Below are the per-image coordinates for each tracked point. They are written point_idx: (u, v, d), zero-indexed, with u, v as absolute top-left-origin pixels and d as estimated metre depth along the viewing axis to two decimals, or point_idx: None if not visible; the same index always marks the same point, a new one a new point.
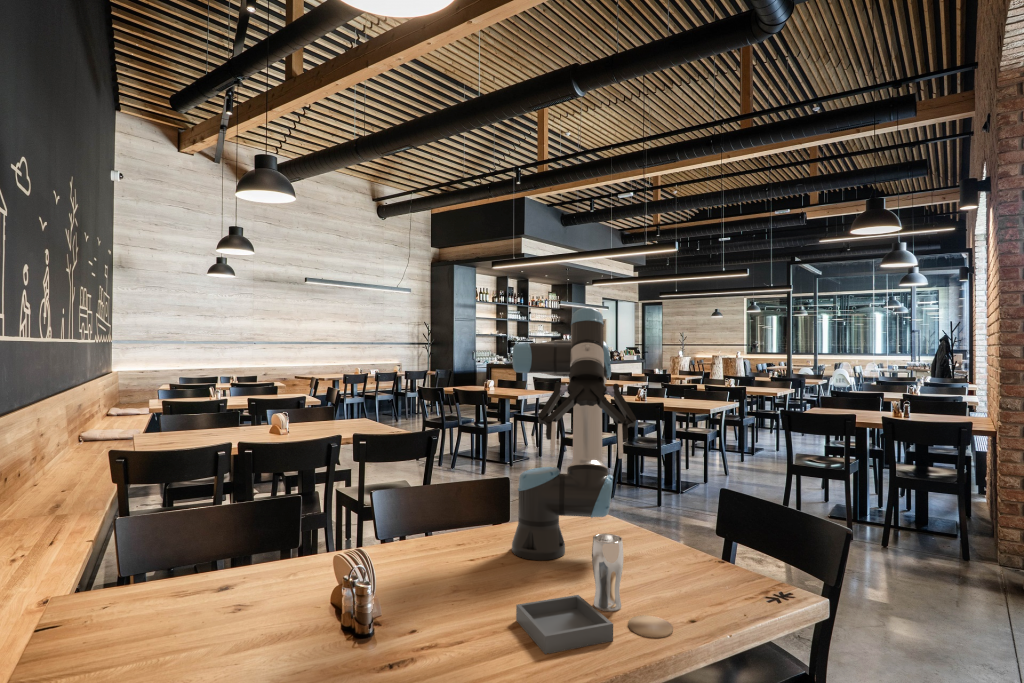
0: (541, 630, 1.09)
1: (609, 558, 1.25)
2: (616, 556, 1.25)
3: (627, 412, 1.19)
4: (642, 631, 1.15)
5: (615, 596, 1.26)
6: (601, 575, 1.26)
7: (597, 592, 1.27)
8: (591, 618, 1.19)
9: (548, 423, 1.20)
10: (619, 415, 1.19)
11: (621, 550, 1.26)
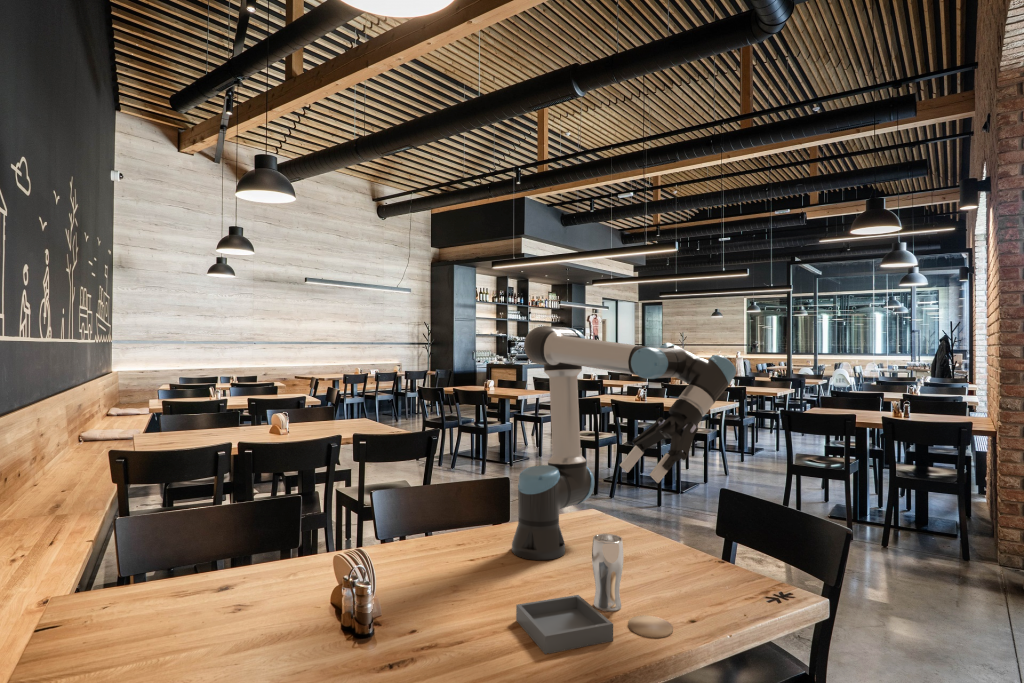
0: (541, 630, 1.09)
1: (609, 558, 1.25)
2: (616, 556, 1.25)
3: None
4: (642, 631, 1.15)
5: (615, 596, 1.26)
6: (601, 575, 1.26)
7: (597, 592, 1.27)
8: (591, 618, 1.19)
9: None
10: None
11: (621, 550, 1.26)
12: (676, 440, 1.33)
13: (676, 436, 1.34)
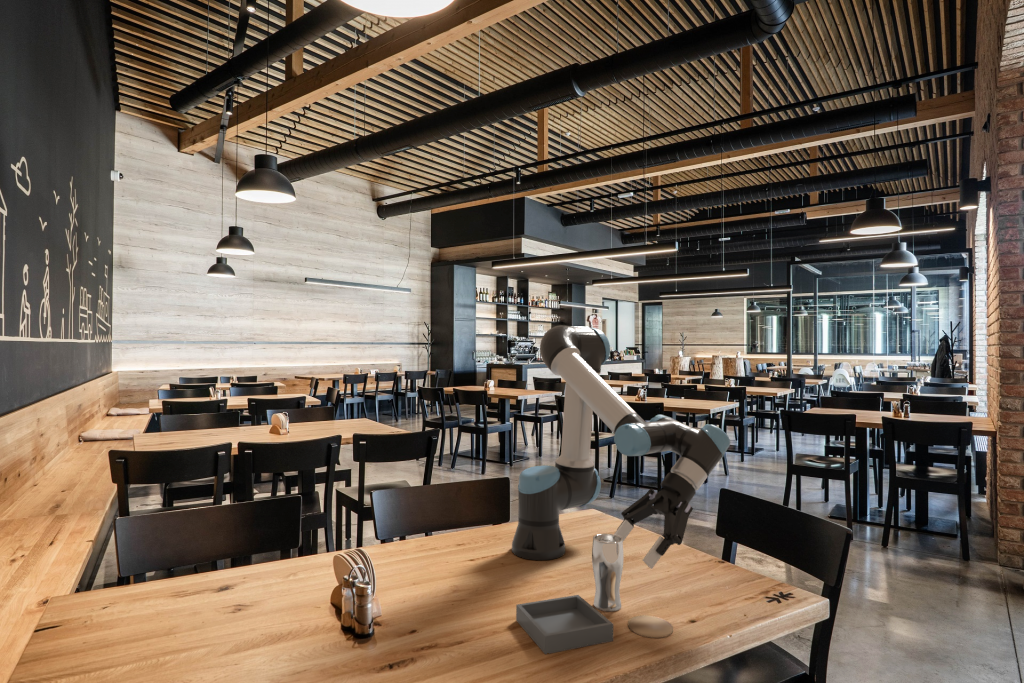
0: (541, 630, 1.09)
1: (609, 558, 1.25)
2: (616, 556, 1.25)
3: None
4: (642, 631, 1.15)
5: (615, 596, 1.26)
6: (601, 575, 1.26)
7: (597, 592, 1.27)
8: (591, 618, 1.19)
9: None
10: None
11: (621, 550, 1.26)
12: (669, 521, 1.26)
13: (669, 516, 1.27)
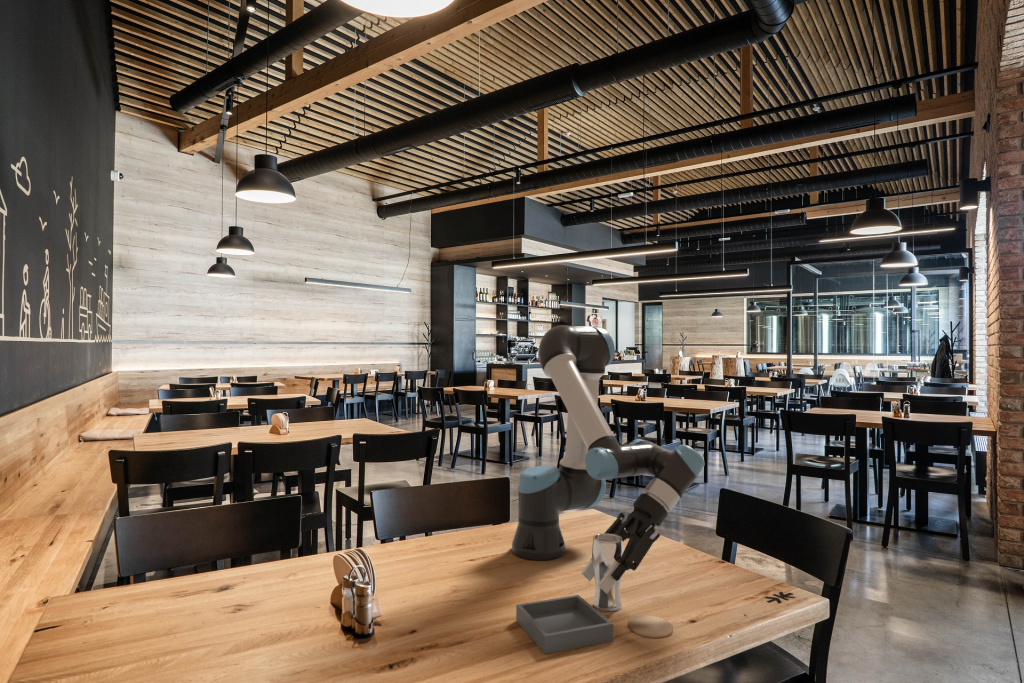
0: (541, 630, 1.09)
1: (609, 558, 1.25)
2: (616, 556, 1.25)
3: None
4: (642, 631, 1.15)
5: (615, 596, 1.26)
6: (601, 575, 1.25)
7: (597, 592, 1.27)
8: (591, 618, 1.19)
9: None
10: None
11: (621, 550, 1.26)
12: (631, 545, 1.26)
13: (633, 540, 1.27)
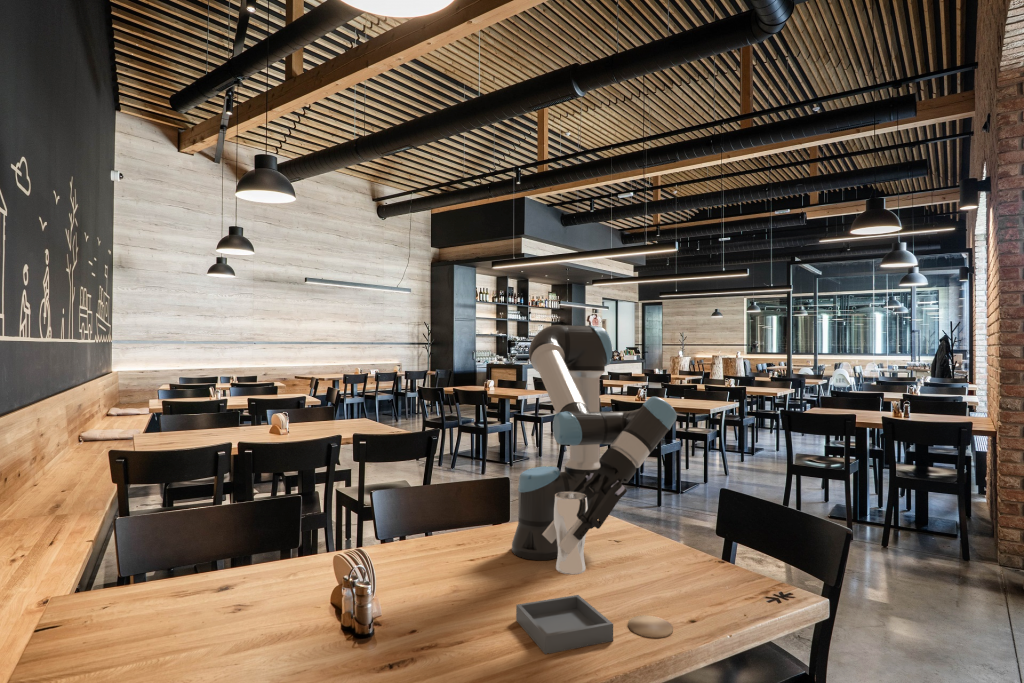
0: (541, 630, 1.09)
1: (571, 516, 1.14)
2: (579, 514, 1.14)
3: None
4: (642, 631, 1.15)
5: (578, 558, 1.15)
6: (563, 535, 1.15)
7: (559, 554, 1.16)
8: (591, 618, 1.19)
9: None
10: None
11: (585, 508, 1.15)
12: (596, 502, 1.15)
13: (598, 497, 1.16)
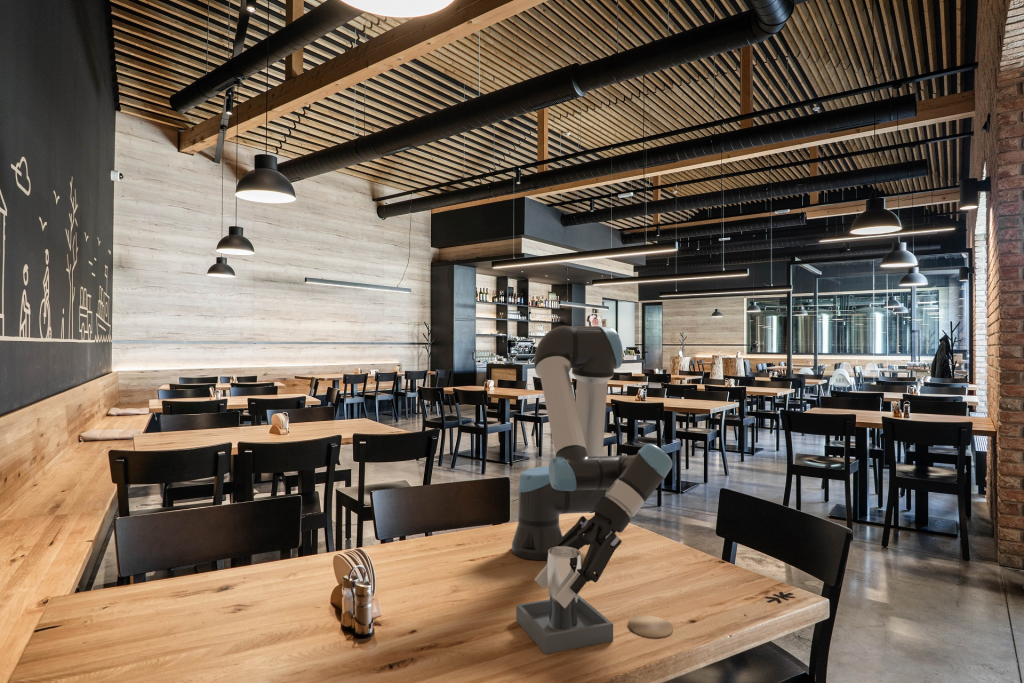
0: (541, 630, 1.09)
1: (564, 574, 1.13)
2: (572, 572, 1.13)
3: None
4: (642, 631, 1.15)
5: (571, 616, 1.14)
6: (556, 593, 1.14)
7: (551, 611, 1.15)
8: (591, 618, 1.19)
9: None
10: None
11: (578, 566, 1.14)
12: (591, 554, 1.14)
13: (593, 548, 1.15)
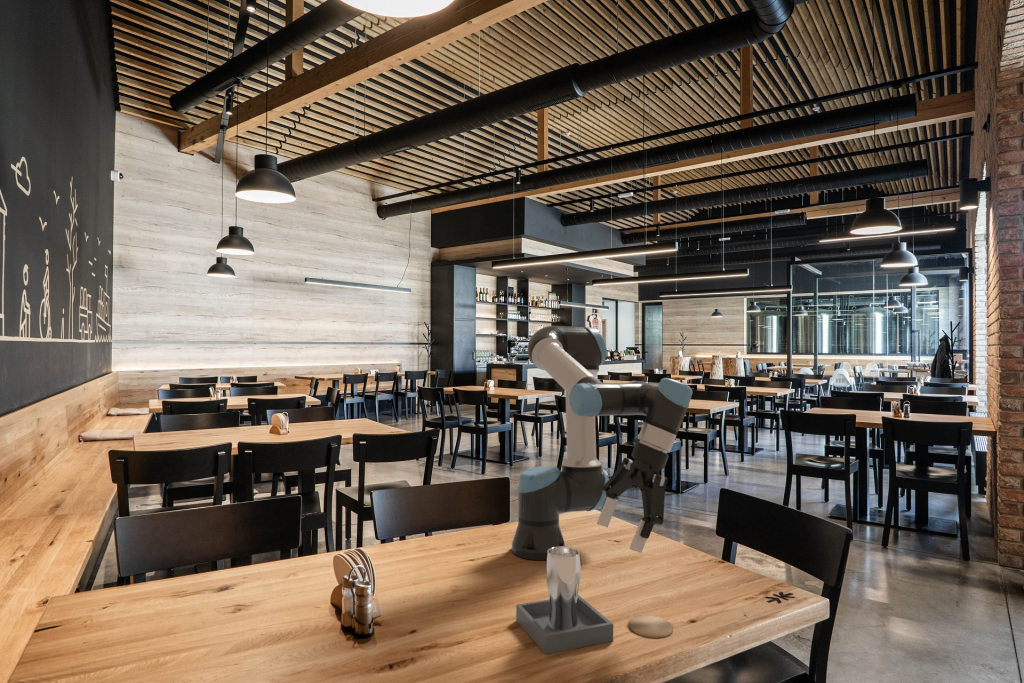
0: (541, 630, 1.09)
1: (563, 574, 1.13)
2: (572, 572, 1.13)
3: None
4: (642, 631, 1.15)
5: (571, 616, 1.14)
6: (555, 593, 1.14)
7: (551, 611, 1.15)
8: (591, 618, 1.19)
9: None
10: None
11: (577, 565, 1.15)
12: (647, 499, 1.21)
13: (646, 493, 1.22)
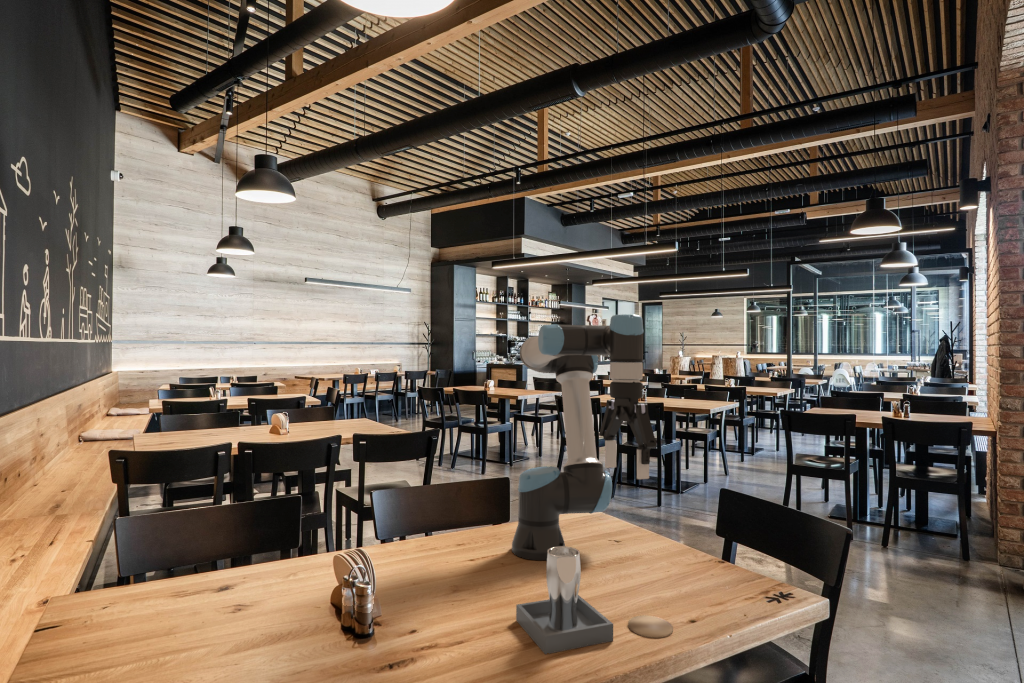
0: (541, 630, 1.09)
1: (563, 574, 1.13)
2: (572, 572, 1.14)
3: None
4: (642, 631, 1.15)
5: (571, 616, 1.14)
6: (555, 593, 1.14)
7: (551, 611, 1.15)
8: (591, 618, 1.19)
9: None
10: None
11: (578, 565, 1.15)
12: (636, 429, 1.28)
13: (634, 424, 1.28)
